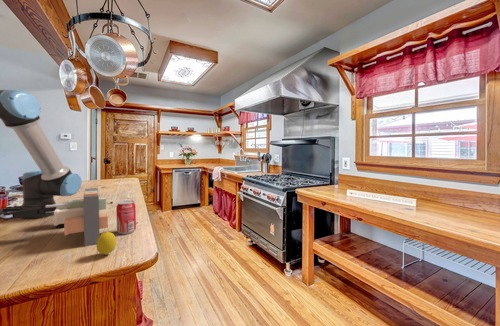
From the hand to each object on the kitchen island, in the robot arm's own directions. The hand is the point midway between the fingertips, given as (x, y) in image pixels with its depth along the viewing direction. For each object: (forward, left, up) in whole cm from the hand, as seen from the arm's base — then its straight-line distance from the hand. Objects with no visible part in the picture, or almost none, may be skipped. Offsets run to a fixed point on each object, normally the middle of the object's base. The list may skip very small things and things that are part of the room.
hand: (67, 207), depth 92 cm
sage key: (0, +7, -3) cm, 7 cm away
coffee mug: (-15, -1, -12) cm, 19 cm away
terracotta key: (+14, +7, -7) cm, 17 cm away
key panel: (+7, +8, -11) cm, 16 cm away
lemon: (+29, +12, -12) cm, 34 cm away
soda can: (+9, +20, -12) cm, 25 cm away
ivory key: (+7, +3, -4) cm, 9 cm away
